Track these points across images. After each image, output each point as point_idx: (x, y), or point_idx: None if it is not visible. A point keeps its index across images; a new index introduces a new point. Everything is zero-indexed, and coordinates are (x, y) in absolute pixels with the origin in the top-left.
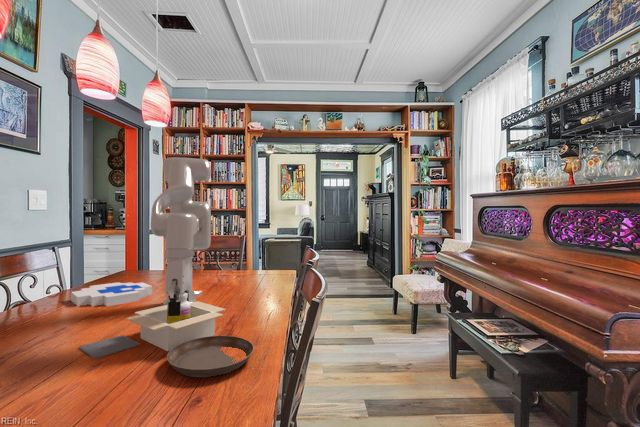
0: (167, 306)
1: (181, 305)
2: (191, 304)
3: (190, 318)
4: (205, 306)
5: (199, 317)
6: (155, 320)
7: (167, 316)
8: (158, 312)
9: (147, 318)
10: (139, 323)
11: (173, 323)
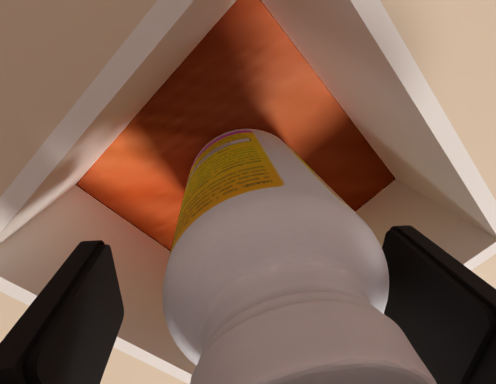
0: (228, 217)
1: (190, 359)
2: (480, 270)
3: (132, 346)
4: None
5: (154, 380)
6: (57, 121)
7: (209, 182)
8: (373, 51)
9: (118, 4)
10: None
11: (2, 285)
